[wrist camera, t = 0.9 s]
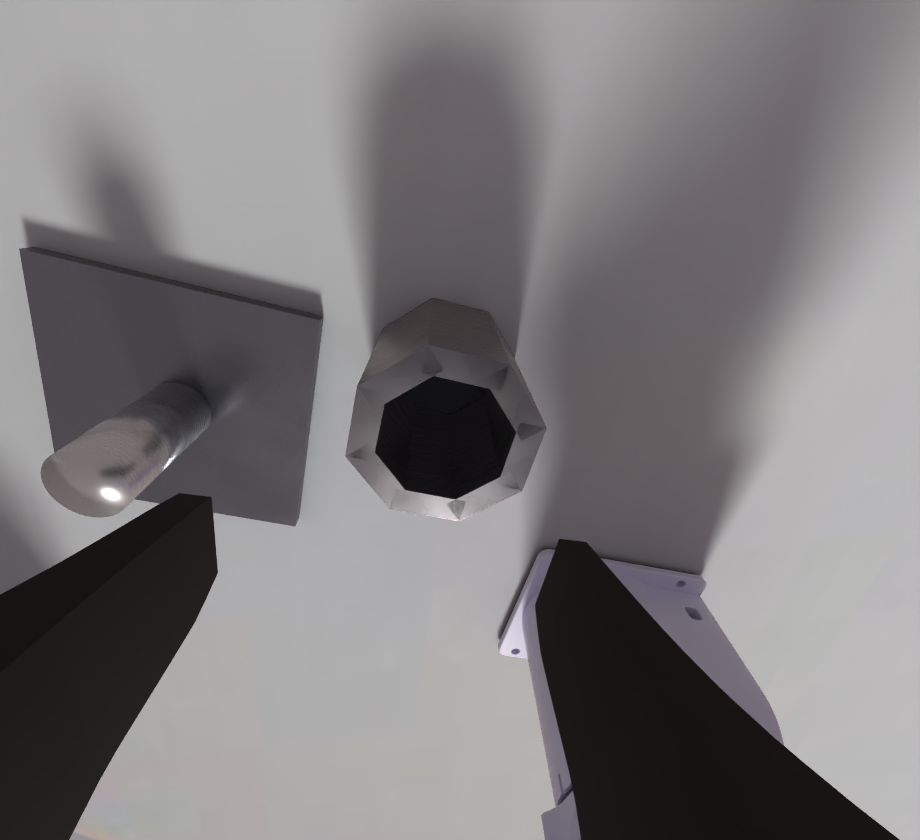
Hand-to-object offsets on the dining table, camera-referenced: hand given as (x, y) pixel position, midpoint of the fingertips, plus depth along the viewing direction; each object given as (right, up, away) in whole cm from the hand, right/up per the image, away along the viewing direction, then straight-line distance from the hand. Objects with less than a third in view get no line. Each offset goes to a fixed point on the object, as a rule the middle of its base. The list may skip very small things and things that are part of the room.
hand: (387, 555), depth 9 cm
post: (-10, +4, +9) cm, 14 cm away
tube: (+1, +5, +9) cm, 10 cm away
